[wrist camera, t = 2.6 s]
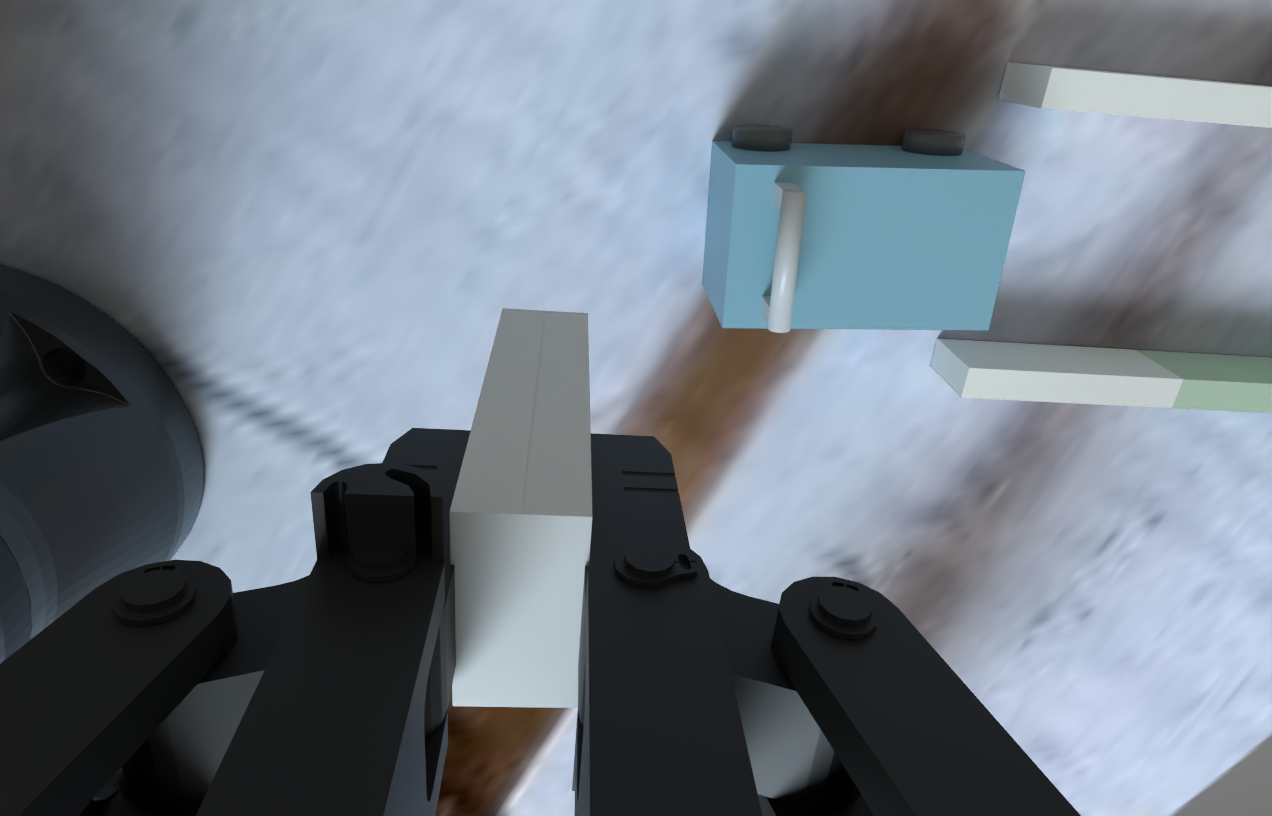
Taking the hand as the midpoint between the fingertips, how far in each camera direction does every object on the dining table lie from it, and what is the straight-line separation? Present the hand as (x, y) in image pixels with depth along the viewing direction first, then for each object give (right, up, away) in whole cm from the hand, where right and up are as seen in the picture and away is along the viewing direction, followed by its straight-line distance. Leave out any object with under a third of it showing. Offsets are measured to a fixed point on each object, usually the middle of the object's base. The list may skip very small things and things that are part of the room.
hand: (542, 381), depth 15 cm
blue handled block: (+9, +7, +16) cm, 19 cm away
